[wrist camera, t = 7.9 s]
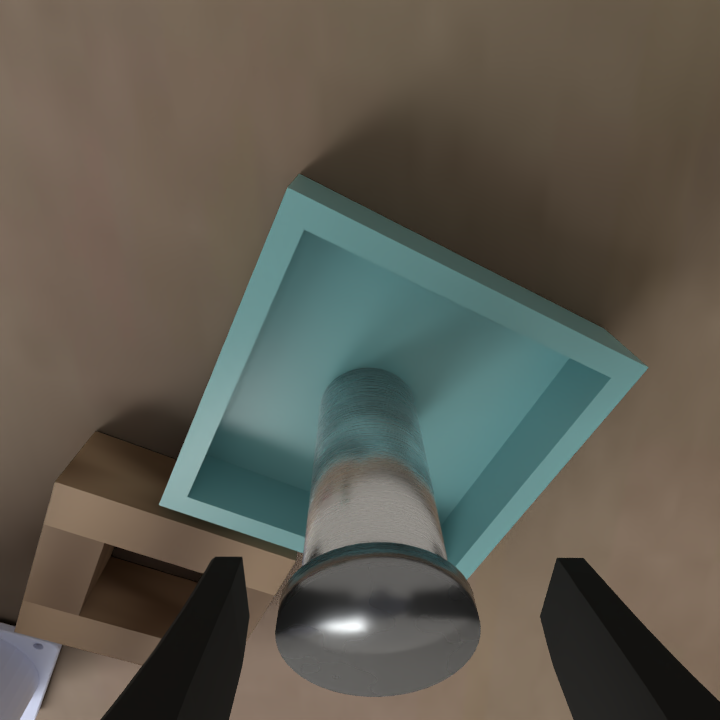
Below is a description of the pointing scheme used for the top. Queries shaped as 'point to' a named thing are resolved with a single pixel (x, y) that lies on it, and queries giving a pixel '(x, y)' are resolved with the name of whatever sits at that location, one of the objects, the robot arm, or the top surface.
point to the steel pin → (374, 554)
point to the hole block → (122, 578)
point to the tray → (401, 357)
